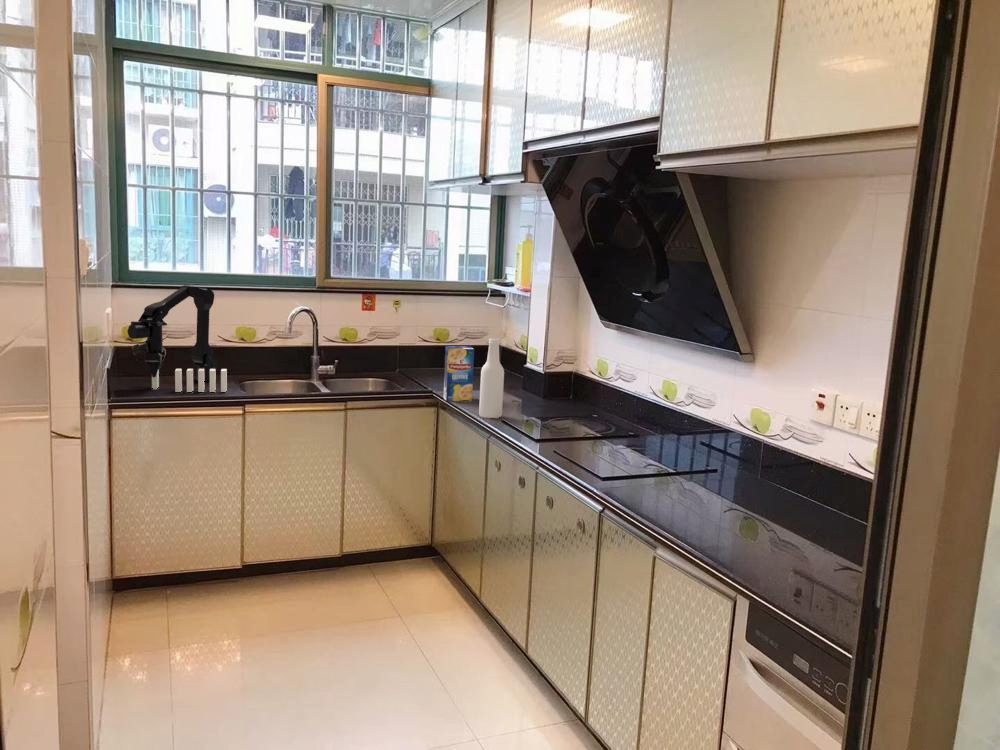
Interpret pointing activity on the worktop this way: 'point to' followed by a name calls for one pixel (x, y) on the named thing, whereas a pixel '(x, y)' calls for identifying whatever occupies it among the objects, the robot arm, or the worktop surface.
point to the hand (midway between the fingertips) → (155, 375)
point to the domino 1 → (155, 381)
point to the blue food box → (458, 373)
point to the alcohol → (491, 383)
